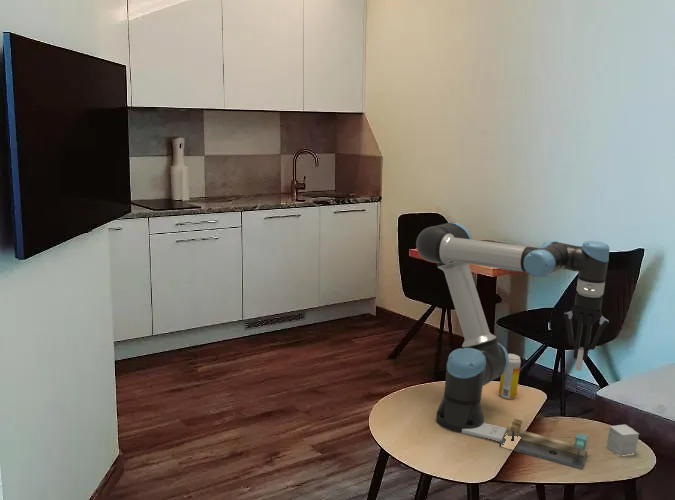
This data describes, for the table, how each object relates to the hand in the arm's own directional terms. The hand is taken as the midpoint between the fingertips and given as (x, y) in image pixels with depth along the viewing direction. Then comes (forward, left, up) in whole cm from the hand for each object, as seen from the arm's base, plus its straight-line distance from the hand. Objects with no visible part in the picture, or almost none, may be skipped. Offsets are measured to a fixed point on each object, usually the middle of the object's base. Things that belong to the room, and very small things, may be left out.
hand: (578, 369), depth 208 cm
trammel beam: (-6, -9, -23) cm, 25 cm away
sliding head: (+4, -9, -23) cm, 25 cm away
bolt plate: (-6, -10, -24) cm, 27 cm away
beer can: (-24, +23, -25) cm, 41 cm away
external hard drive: (-24, -9, -24) cm, 35 cm away
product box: (+15, +3, -25) cm, 29 cm away
